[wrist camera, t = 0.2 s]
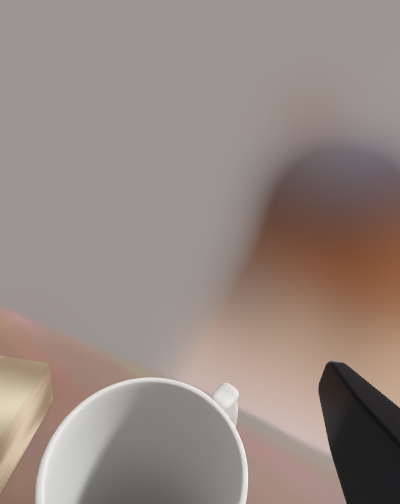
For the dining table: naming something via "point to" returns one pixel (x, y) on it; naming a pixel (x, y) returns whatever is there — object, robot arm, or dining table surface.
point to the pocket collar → (21, 408)
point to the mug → (147, 448)
